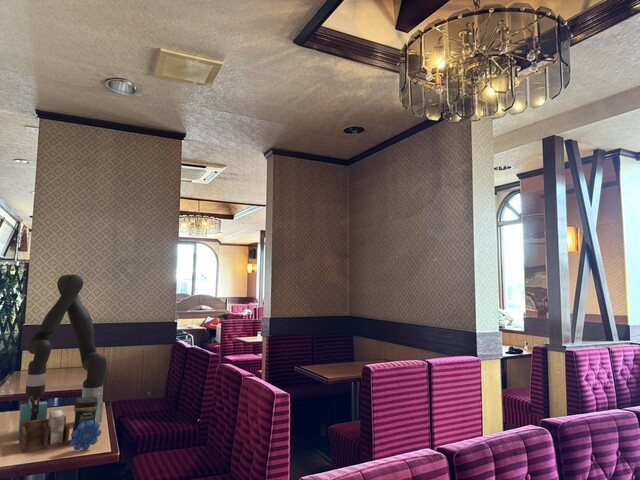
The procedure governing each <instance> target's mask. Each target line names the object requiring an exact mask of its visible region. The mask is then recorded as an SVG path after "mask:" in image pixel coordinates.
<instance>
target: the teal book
mask: <svg viewBox="0 0 640 480" xmlns="http://www.w3.org/2000/svg"><path fill="white" fill-rule="evenodd" d="M48 405H49V403H48V402H47V400H46V401H40V403H39V411H38V412H39V413H38V414H37V420H41V419H48V418H47V415H48V407H49V406H48ZM33 411H36V410H33ZM27 421H31V410H30V404H29V402H27V403H22V404H20V407H19V418H18V431H17V438H18V440H20V430H21V422H27Z"/></svg>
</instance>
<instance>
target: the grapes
mask: <svg viewBox="0 0 640 480" xmlns="http://www.w3.org/2000/svg"><path fill="white" fill-rule="evenodd" d="M100 427H101V422H98V423H95V424H94V421H93V420H89V421H88V422H87V423H86V424H85V423H81V424H79V425H78V427H77V429H78V430H74V431H73V430H72V431H73V432H71V434H70V441H69V445H70V446H72V447H73V449H74V451H76V452H77V451H80V450H81V449H82V451H87V450H88V449H90V447H91V446H93V445H96V444H97V443H98V441H99V439H98V437H100V436H101V434H102V432H103V431H102V430H101V428H100ZM71 437H72V438H73V439H71Z"/></svg>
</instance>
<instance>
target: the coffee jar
mask: <svg viewBox="0 0 640 480" xmlns="http://www.w3.org/2000/svg"><path fill="white" fill-rule="evenodd" d="M97 408H98V399H97V397H96V396H95V397H83V398H82V397H77V398H76V399H75V403H74V406H73V410H74V422H73V426H72V432H73V431H74V430H78V429H77V427H78V425H79V424H81V423H85V424H86V423H87V422H88V421H89V420H93V421H94V424H95V423H96V410H97ZM72 432H71V433H72ZM71 439H73V438H72V437H71V436H70V440H71Z"/></svg>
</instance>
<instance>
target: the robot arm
mask: <svg viewBox="0 0 640 480" xmlns="http://www.w3.org/2000/svg"><path fill="white" fill-rule="evenodd" d="M56 284H57V290H58V292H59V294H60V296H59V298H58V299H57V301H56V302H55V304H54V305H53V306H52V307H51V308H50V309H49V311H48V312H47V313H46V315H45V317H44V319H43V320H42V322H41V325H40V326H39V328H38V329H37V330H36V331H35V333H34V334H33V335H32V337H31V338H30V339H29V340H28V344H27V351H28V353H30V354H31V355H34V356H33V360H31V361H29V363H28V366H27V367H28V369H27V376H26V382H25V391H24V392H25V393H24V394H25V396H26V397H29V398H28V403H29V404H30V410H31V421H34V420H37V414H38V413H39V412H38V411H39V403H40V402H41V400H40V399H41V398H40V397H39V396H42V395H44V394H45V391H46V381H47V373H46V372H47V365H48V361H49V357H50V355H51V352H52V351H51V350H52V344H51V342H50V341H49V338H50V337H52V336H54V335H55V334H56V332H57V331H58V328H59V327H60V324H61V322H62V321H63V318H64V316H65V315H66V314H67V315H68V319H69V323H70V326H71V330H72V333H73V335H74V338H75V341H76V345H77V346H78V350H79V354H80V360H81V365H82V368H83V370H85V372H87V373H86V379H84V381H83V382H82V392H81V393H82V394H81V398H83V397H95V396H96V397H97V399H98V408H97V410H96V423H101V422H103V410H104V409H103V408H104V401H103V394H104V382H105V381H106V377H107V366H108V361H107V358H106V356H105V355H103V354H100V353H99V352H98V351H97V349H96V345H95V342H94V335H95V332H94V331H95V329H94V324H93V320H92V317H91V314H90V312H89V311H88V309H87V308H86V306H84V304H83V302H82V301H81V299H80V297H79V293H80V292H81V291H82V289H83V286H84V280H83V277H82V276H80V275H79V274H64V275H61V276H60V277H59V278H58V279H57V283H56ZM33 410H36V411H33Z"/></svg>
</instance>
